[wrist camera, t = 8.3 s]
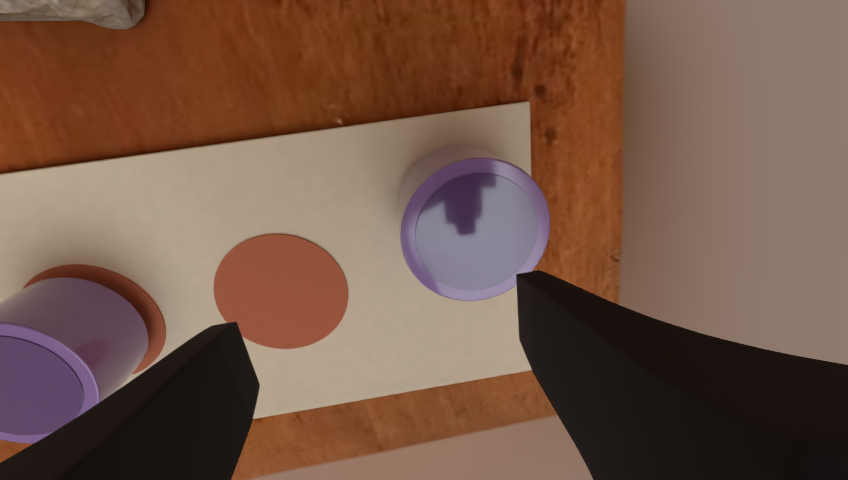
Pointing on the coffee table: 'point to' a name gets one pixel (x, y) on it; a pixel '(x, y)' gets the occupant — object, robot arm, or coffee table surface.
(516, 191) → the purple cup
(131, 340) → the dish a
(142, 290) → the mat
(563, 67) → the coffee table surface
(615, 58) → the coffee table surface
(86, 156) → the coffee table surface
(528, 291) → the robot arm
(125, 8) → the decorative stone
